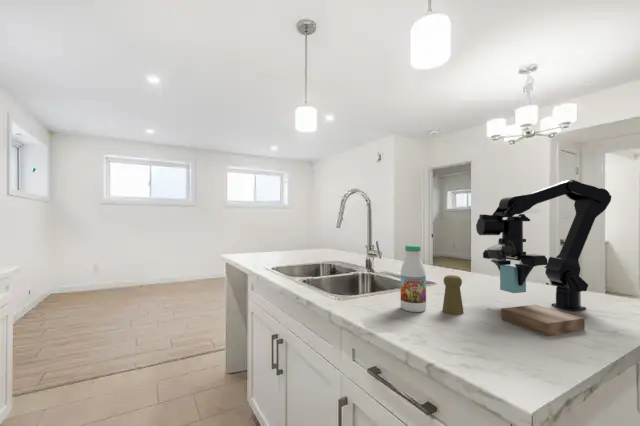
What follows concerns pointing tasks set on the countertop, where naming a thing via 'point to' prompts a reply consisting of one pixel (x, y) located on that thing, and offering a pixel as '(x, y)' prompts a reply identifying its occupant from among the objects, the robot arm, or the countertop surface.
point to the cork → (452, 295)
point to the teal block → (510, 279)
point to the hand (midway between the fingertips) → (512, 283)
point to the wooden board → (542, 319)
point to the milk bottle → (413, 281)
